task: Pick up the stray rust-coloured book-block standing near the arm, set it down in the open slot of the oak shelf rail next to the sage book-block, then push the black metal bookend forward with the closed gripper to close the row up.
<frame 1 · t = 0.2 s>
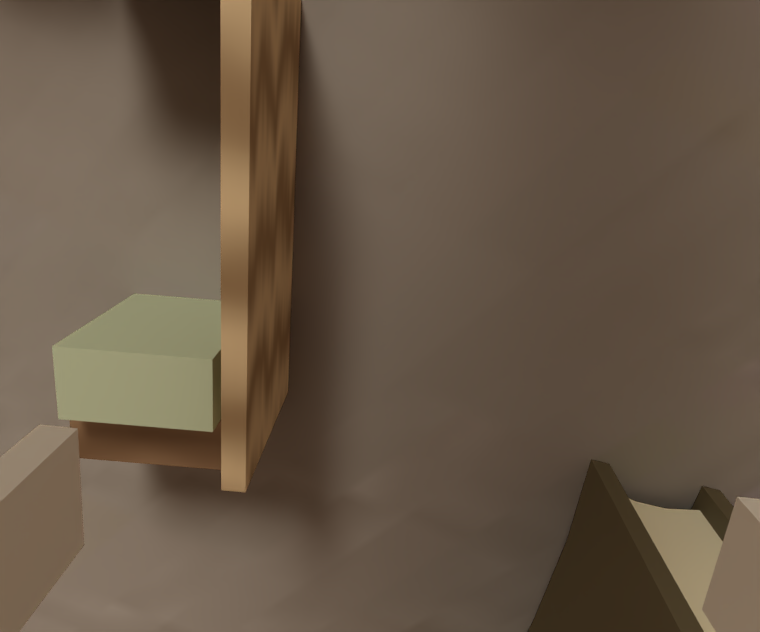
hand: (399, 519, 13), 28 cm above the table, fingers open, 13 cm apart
book: (599, 600, 46), on the table
shelf: (284, 212, 38), on the table
book green: (196, 327, 41), on the table
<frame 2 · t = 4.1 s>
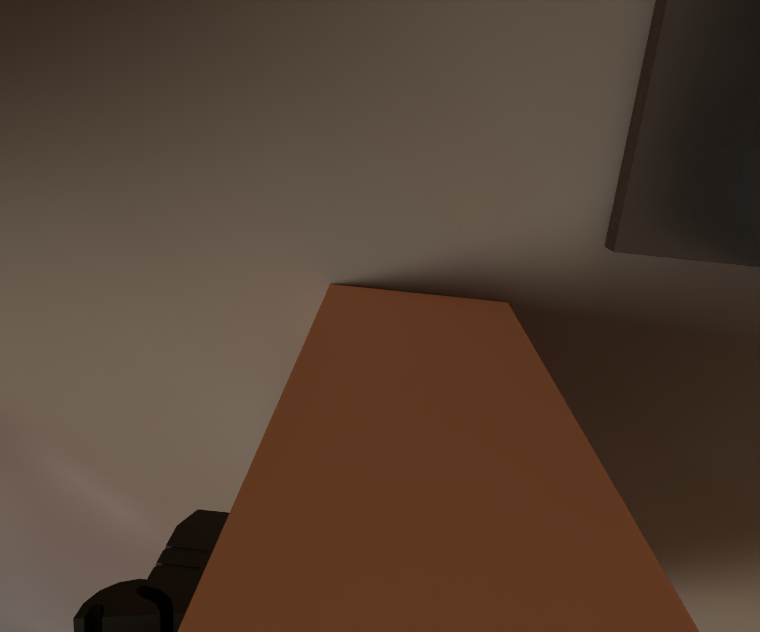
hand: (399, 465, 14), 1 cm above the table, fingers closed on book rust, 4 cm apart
book rust: (399, 450, 15), on the table, touching gripper
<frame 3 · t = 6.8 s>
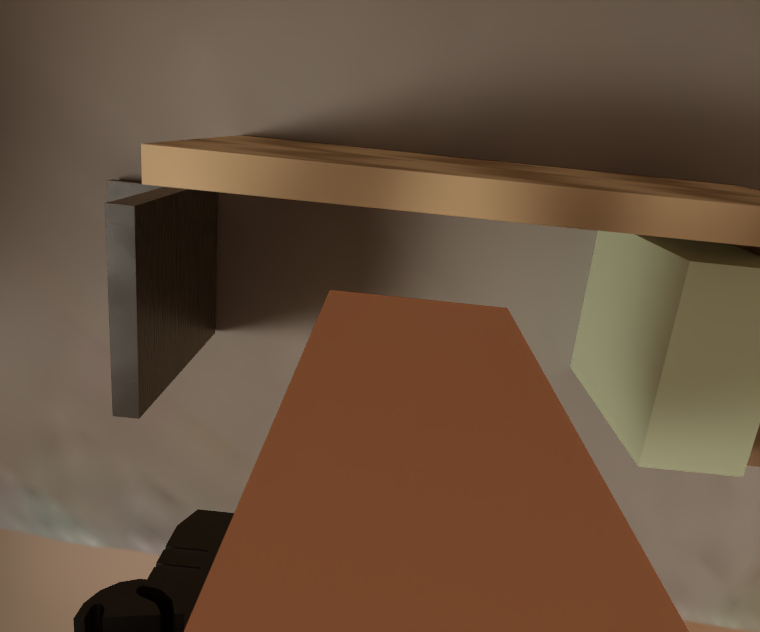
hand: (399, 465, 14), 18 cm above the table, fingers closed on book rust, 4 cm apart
shelf: (484, 172, 30), on the table
book rust: (399, 456, 15), point 18 cm above the table, touching gripper
book green: (623, 299, 32), on the table
bookend: (124, 277, 27), point 5 cm above the table, slide at 0.0 cm
when the fingers open (2 cm above the table, at t = 9.9 s): book rust drops 1 cm, on the table.
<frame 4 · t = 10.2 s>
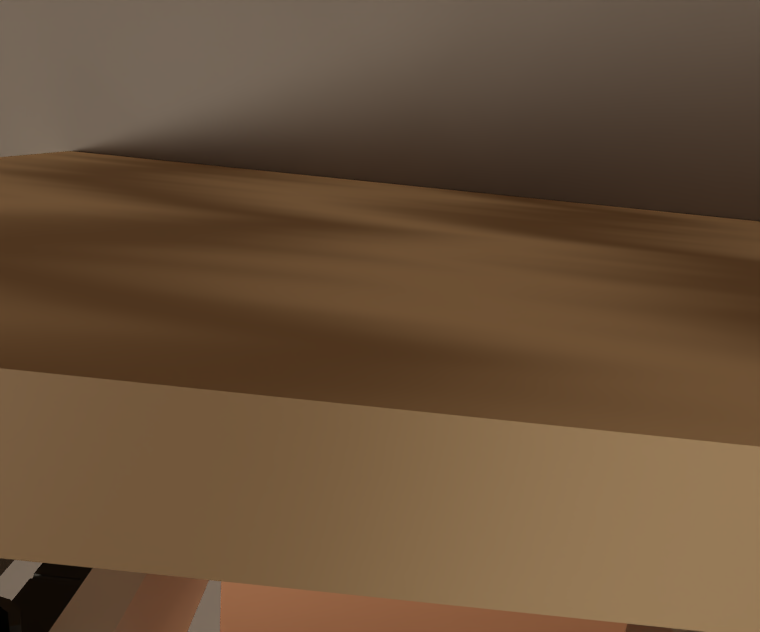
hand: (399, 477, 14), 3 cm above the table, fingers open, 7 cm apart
shelf: (571, 227, 15), on the table
book rust: (397, 425, 17), on the table
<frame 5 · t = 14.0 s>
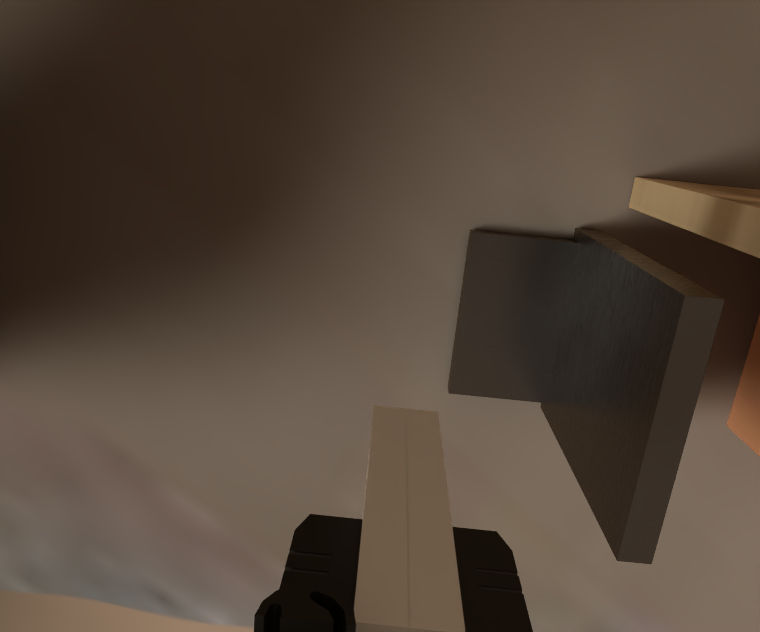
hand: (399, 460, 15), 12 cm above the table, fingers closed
bookend: (546, 362, 22), point 5 cm above the table, slide at 0.0 cm
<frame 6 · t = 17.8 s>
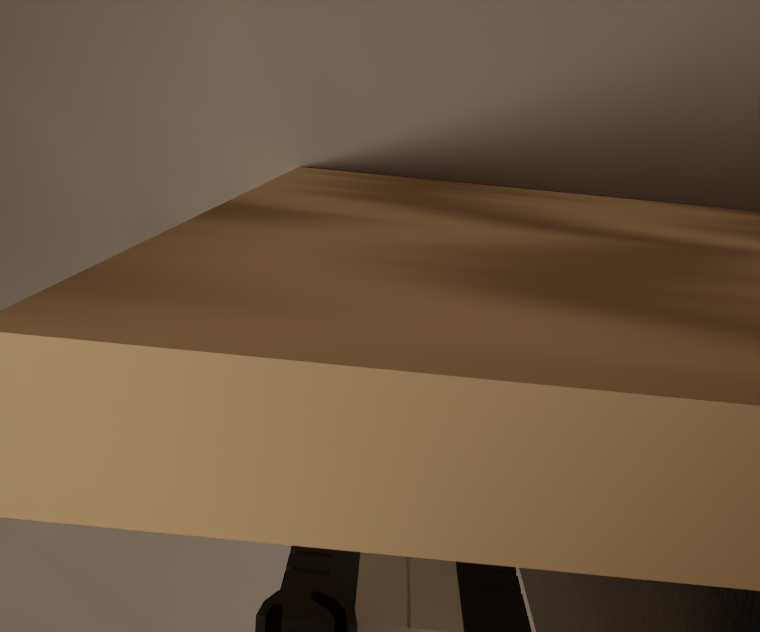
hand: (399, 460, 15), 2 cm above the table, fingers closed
bookend: (512, 548, 12), point 5 cm above the table, slide at 8.8 cm, touching book rust, hand
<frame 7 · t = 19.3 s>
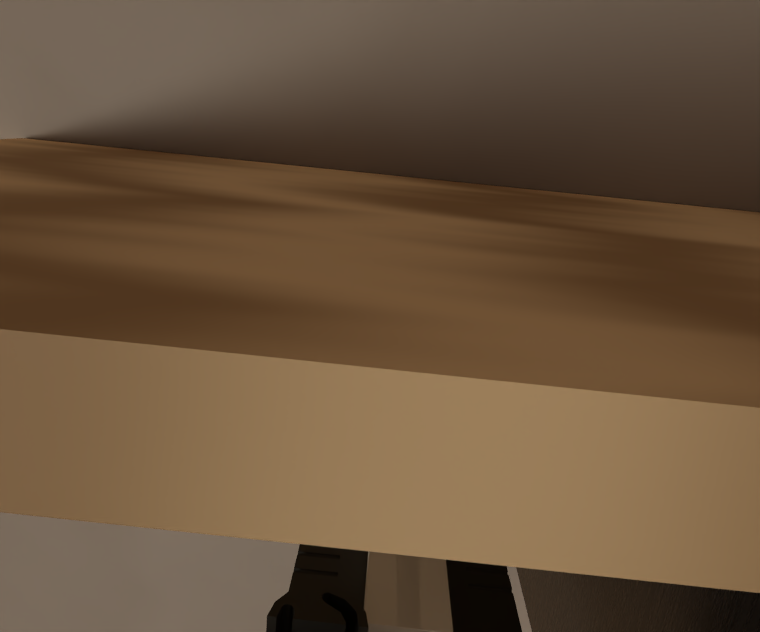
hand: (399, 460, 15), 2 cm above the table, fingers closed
shelf: (517, 213, 15), on the table
bookend: (506, 548, 12), point 5 cm above the table, slide at 15.4 cm, touching book rust, hand
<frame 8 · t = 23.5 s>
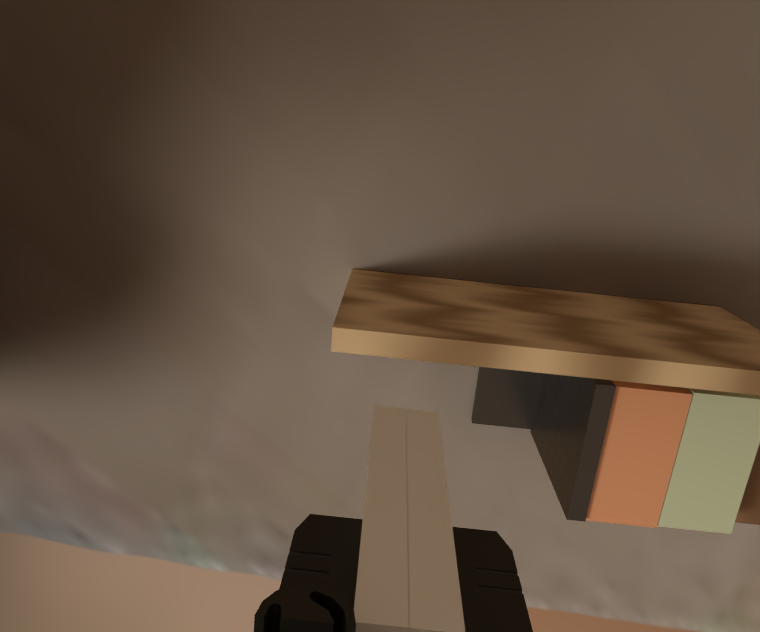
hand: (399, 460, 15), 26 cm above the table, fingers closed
shelf: (534, 296, 41), on the table
book rust: (583, 383, 42), on the table
book green: (643, 388, 42), on the table
bookend: (531, 409, 37), point 5 cm above the table, slide at 15.3 cm
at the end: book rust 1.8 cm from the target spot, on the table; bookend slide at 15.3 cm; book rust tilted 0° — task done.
